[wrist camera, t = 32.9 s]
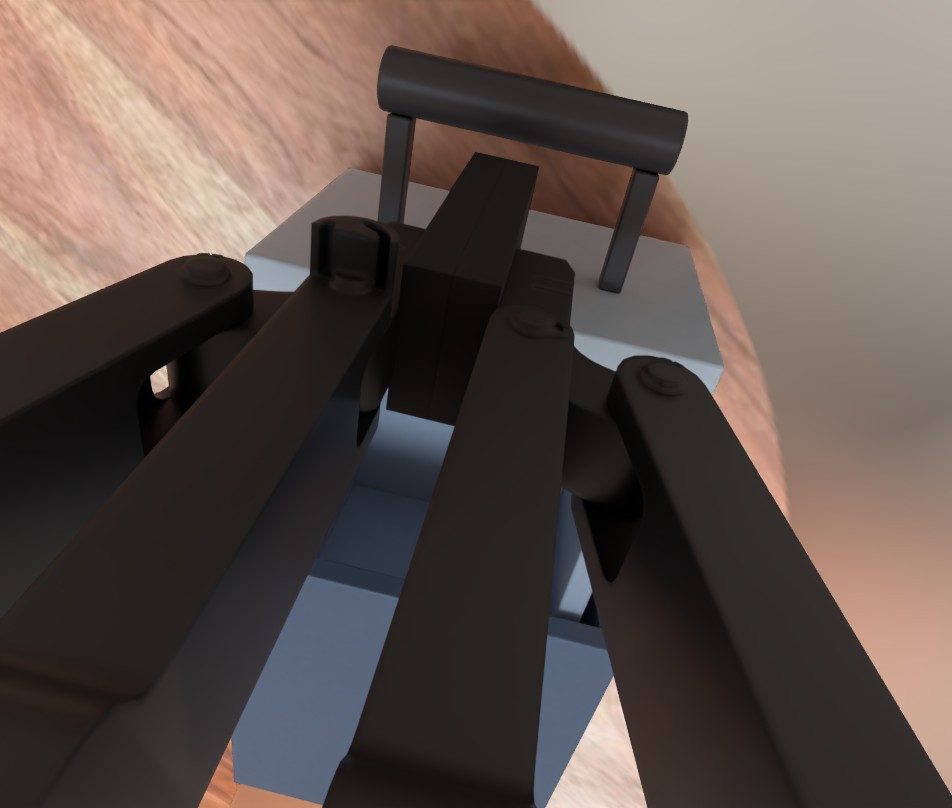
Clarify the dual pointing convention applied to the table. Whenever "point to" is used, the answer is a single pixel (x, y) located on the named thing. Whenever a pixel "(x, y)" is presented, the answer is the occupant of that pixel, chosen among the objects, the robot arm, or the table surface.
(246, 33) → the table surface
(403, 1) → the table surface
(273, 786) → the blue drawer cabinet
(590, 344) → the drawer
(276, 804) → the soap dispenser
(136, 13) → the table surface
